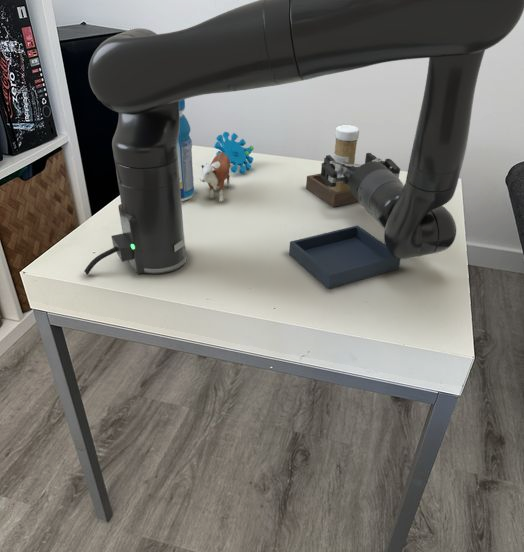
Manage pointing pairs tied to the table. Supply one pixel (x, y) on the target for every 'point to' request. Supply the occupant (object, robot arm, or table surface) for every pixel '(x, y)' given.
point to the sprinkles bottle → (345, 149)
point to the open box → (328, 192)
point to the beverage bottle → (185, 156)
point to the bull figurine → (217, 174)
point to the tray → (343, 256)
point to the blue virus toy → (235, 152)
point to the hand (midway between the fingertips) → (347, 158)
